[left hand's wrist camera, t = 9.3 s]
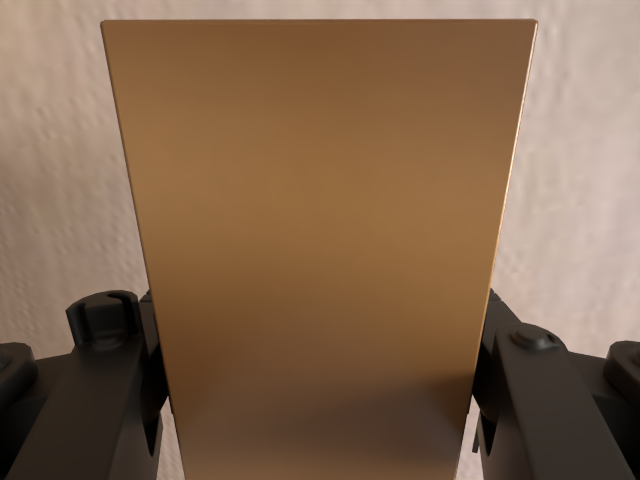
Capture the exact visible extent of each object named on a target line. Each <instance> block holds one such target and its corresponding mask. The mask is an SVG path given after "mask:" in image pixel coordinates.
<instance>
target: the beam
mask: <svg viewBox="0 0 640 480" xmlns="http://www.w3.org/2000/svg"><path fill="white" fill-rule="evenodd" d="M100 27H101V33H102V38H103V43H104V49H105V54H106V59H107V65H108V70H109V75H110V81H111V86H112V91H113V97H114V102H115V107H116V113H117V118H118V123H119V129H120V134H121V139H122V145H123V150H124V155H125V161H126V166H127V171H128V177H129V182H130V188H131V193H132V198H133V204H134V209H135V214H136V220H137V225H138V230H139V236H140V241H141V246H142V252H143V257H144V262H145V268H146V273H147V278H148V284H149V289H150V294H151V300H152V305H153V310H154V316H155V321H156V326H157V332H158V337H159V342H160V348H161V353H162V358H163V364H164V369H165V374H166V380H167V385H168V390H169V396H170V401H171V406H172V412H173V417H174V422H175V428H176V433H177V438H178V444H179V449H180V454H181V460H182V465H183V470H184V476H185V480H455V478H456V473H457V467H458V462H459V457H460V451H461V446H462V440H463V435H464V429H465V424H466V418H467V413H468V407H469V402H470V396H471V391H472V385H473V380H474V374H475V369H476V363H477V358H478V352H479V347H480V342H481V336H482V331H483V325H484V320H485V314H486V309H487V303H488V298H489V292H490V287H491V281H492V276H493V270H494V265H495V259H496V254H497V248H498V243H499V237H500V232H501V226H502V221H503V216H504V210H505V205H506V199H507V194H508V188H509V183H510V177H511V172H512V166H513V161H514V155H515V150H516V144H517V139H518V133H519V128H520V122H521V117H522V111H523V106H524V100H525V95H526V90H527V84H528V79H529V73H530V68H531V62H532V57H533V51H534V46H535V40H536V35H537V29H538V21H537V20H534V19H250V20H104V21H102V22H101V24H100Z"/></svg>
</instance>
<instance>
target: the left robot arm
mask: <svg viewBox="0 0 640 480" xmlns="http://www.w3.org/2000/svg"><path fill="white" fill-rule="evenodd" d="M66 315H67V318H68V322H69V325H70V329H71V332H72V336H73V339H74V343H75V347H74V349H73V350H72V352H71V353H70V354H65V355H60V356H55V357H50V358H44V359H39V360H35V359H34V356H33V353H32V350H31V347H29V346H28V345H26V344H25V343H16V342H12V343H4V344H0V480H156V478H157V470H158V462H159V455H160V447H161V439H162V431H163V424H162V418H161V413H160V411H161V409H162V407H163V405H164V403H165V401H166V399H167V397H169V402H170V407H171V413H172V414H173V412H172V406H171V401H170V396H169V390H168V385H167V380H166V374H165V369H164V364H163V358H162V353H161V348H160V342H159V337H158V332H157V326H156V321H155V316H154V310H153V305H152V300H151V294H150V289H149V290H148V291H147V293H146V295H144V296H143V297H142V298H141V299H140V302H138V297H137V295H135V294H134V293H132V292H129V291H124V290H114V291H106V292H100V293H96V294H93V295H90V296H87V297H84V298H82V299H80V300H79V301H77V302H75V303H73V304H72V305H71V306H70V307H69V308H68V309H67V310H66ZM472 394H473V396H474V398H475V400H476V402H477V404H478V406H479V408H480V413H479V418H478V423H477V428H476V433H475V438H474V443H473V449H472V452H474V453H477V452H478V447H479V446H480V454H481V461H482V469H483V477H484V480H640V342H635V341H619V342H615V343H614V344H612V345H611V346H610V348H609V351H608V354H607V357H606V359H605V358H600V357H594V356H589V355H584V354H579V353H574V352H570V351H568V350H567V348H566V346H565V344H564V343H563V342H562V341H561V340H560V338H559V337H557V336H556V335H554V334H553V333H551V332H550V331H548V330H546V329H543V328H541V327H538V326H536V325H532V324H527V323H523V322H521V321H520V320H519V319H518V318H517V316H516V315H515V314H514V313H513V312H512V311H511V310H510V309H509V307H508V306H507V305H506V304H505V303H504V302H503V301H501V299H500V297H499V296H498V295H497V294H496V293H494V291H493V290H492V288H491V287H490V292H489V298H488V303H487V309H486V314H485V320H484V325H483V331H482V336H481V342H480V347H479V352H478V358H477V363H476V369H475V374H474V380H473V385H472V391H471V396H470V402H469V407H468V413H467V414H469V409H470V404H471V398H472Z"/></svg>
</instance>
